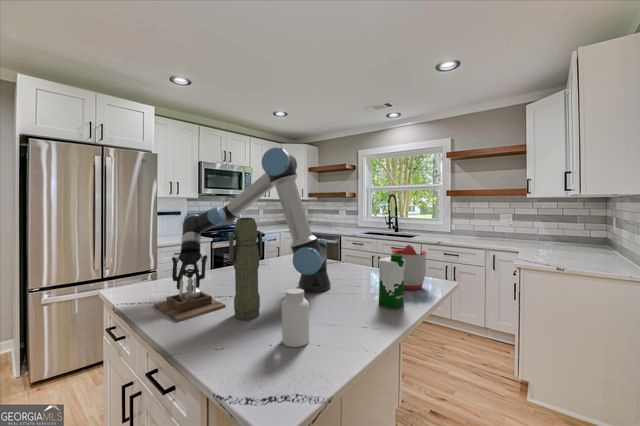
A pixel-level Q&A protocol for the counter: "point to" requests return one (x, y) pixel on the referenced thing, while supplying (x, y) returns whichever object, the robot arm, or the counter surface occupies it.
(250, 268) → the thermos
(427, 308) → the counter surface
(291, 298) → the pill bottle
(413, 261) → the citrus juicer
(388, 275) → the milk carton
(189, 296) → the valve
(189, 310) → the dock board
